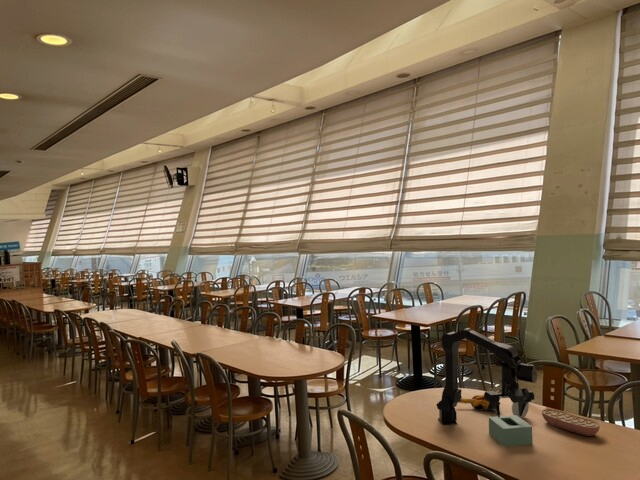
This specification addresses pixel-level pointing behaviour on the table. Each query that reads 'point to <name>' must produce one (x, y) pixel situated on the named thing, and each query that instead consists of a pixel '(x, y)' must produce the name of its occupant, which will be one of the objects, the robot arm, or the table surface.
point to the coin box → (510, 430)
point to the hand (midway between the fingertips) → (509, 416)
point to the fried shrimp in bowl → (479, 403)
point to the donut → (516, 411)
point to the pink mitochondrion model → (571, 422)
